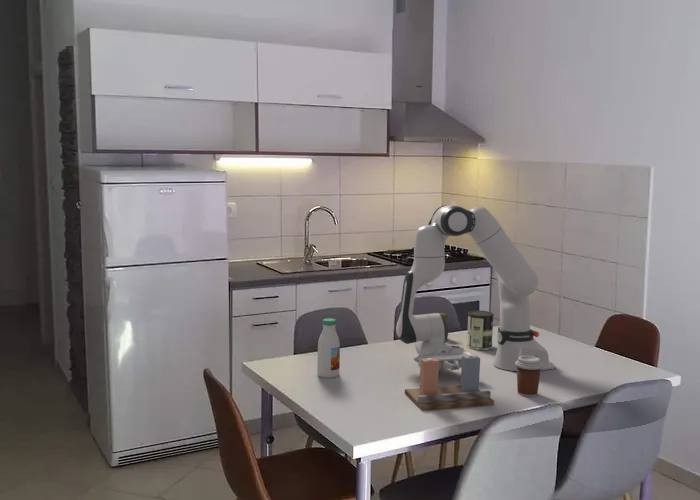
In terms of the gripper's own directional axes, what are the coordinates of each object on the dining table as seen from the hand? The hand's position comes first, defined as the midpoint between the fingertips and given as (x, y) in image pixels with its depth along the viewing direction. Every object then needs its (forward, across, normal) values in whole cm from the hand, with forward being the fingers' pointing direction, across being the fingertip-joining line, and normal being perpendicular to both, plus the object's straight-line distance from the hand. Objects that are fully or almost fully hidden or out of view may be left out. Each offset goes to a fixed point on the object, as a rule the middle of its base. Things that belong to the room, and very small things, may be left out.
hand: (455, 367), depth 247 cm
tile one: (+12, -14, +5) cm, 20 cm away
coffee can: (-45, +30, +7) cm, 54 cm away
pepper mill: (-60, +19, +7) cm, 63 cm away
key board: (+12, -7, +6) cm, 15 cm away
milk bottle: (-20, -39, +7) cm, 45 cm away
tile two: (+12, 0, +5) cm, 13 cm away
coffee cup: (+12, +21, +7) cm, 25 cm away
